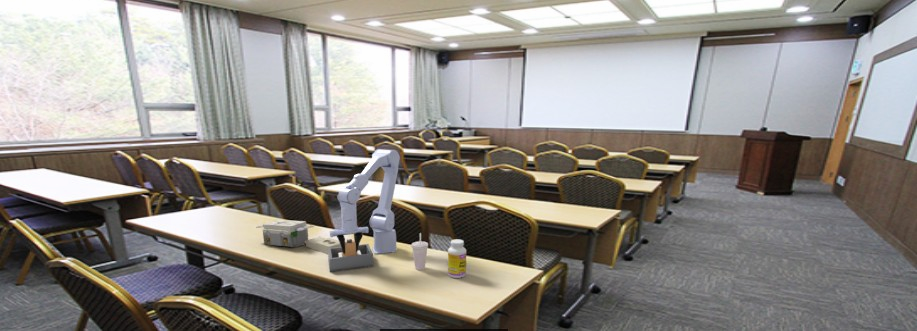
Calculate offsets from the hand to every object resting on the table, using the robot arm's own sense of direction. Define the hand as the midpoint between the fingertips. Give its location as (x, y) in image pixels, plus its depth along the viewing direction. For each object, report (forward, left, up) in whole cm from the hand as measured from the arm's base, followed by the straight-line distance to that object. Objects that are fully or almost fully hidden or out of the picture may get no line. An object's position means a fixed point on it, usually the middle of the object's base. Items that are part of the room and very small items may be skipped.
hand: (350, 252), depth 149 cm
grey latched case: (+25, -36, -5) cm, 44 cm away
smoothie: (-25, +14, -5) cm, 29 cm away
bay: (0, 0, -4) cm, 4 cm away
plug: (0, 0, -2) cm, 2 cm away
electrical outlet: (+9, -22, -5) cm, 24 cm away
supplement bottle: (-36, +25, -5) cm, 44 cm away
